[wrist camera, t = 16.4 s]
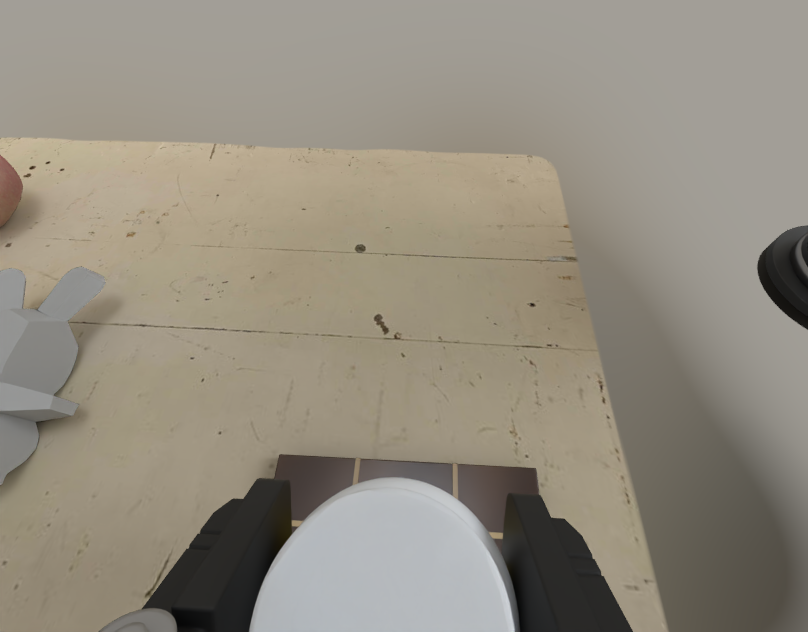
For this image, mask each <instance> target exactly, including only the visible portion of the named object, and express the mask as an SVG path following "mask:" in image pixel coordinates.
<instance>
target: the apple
mask: <svg viewBox="0 0 808 632" xmlns="http://www.w3.org/2000/svg"><path fill="white" fill-rule="evenodd" d="M22 190H23V185H22V181H21V179H20V177H19V175H18V174H17V172H16V171H15V170H14V168H13V167H12V166H11V165H10V164H9V163H8V162H7V161H6V160H5V159H4V158H3V157H2V156H1V155H0V227H1V226H3V225H4V224H5V223H6V222H7V221H8V219H9V218H10V216H11V215H12V214H13V212H14V211H15V209H16V207H17V205H18V203H19V201H20V199H21V195H22Z"/></svg>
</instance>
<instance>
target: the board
mask: <svg viewBox="0 0 808 632" xmlns="http://www.w3.org/2000/svg"><path fill="white" fill-rule="evenodd" d="M389 477H398V478H408V479H413V480H418V481H422V482H425V483H428V484H431V485H433V486H435V487H437V488H440V489H441V490H443V491H445V492H447V493H449V494H450V495H452V496H453V497H454V498H456V499H457V500H458V501H460V502H461V503H462V504H464V505H465V506H466V507H467V508H468V509H469V510H470V511H471V512H472V513H473V514H474V515H475V516H476V517H477V518H478V519H479V521H480V522H481V523H482V524H483V526H484V527H485V528H486V529H487V531H488V532H489V534H490V535H491V537H492V538H493V540H494V542H495V543H496V545H497V547H498V549H499V551H500V553H501V555H502V539H503V529H504V519H505V508H506V499H507V495H508V493H518V494H536V495H539V488H538V480H537V472H536V468H522V467H504V466H485V465H467V464H457V463H452V464H448V463H430V462H411V461H393V460H375V459H361V458H338V457H319V456H301V455H282V454H280V455H279V459H278V464H277V468H276V473H275V477H274V479H283V480H289V481H290V485H291V514H292V534H293V533H294V532H295V530H296V529H297V528H298V527H299V526H300V525H301V523H302V522H303V521H304V520H305V519H306V518H307V517H308V516H309V515H310V514H311V513H312V512H313V511H314V510H315V509H316V508H318V507H319V506H320V505H321V504H323V503H324V502H325V501H327V500H328V499H329V498H331V497H332V496H334V495H336V494H337V493H339V492H340V491H342V490H344V489H346V488H348V487H350V486H352V485H355V484H358V483H361V482H364V481H368V480H373V479H378V478H389Z"/></svg>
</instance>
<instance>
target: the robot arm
mask: <svg viewBox="0 0 808 632" xmlns="http://www.w3.org/2000/svg"><path fill="white" fill-rule="evenodd" d="M790 259H791V264H792V267H793V269H794V271H795V273H796V275H797V276H798V278H799V279H800V280H801V282H802V283H803V284H804V285H805V286H806V287H807V288H808V232H807V233H806V234H805V236H804V237H801V239H800V240H799V241H798V242H796V244H795V245H794V246H793V247H792V250H791V254H790ZM291 535H292V514H291V485H290V481H289V480H283V479H265V478H259V479H257V480H256V481H255V483H254V484H253V486H252V487H251V489H250V490H249V492H248V493H247V495H246V496H245V497H244V499H232V500H230V501H229V502H228V503H226V504H225V505H224V506H222V507H221V508H219V509H218V510H217V511H215V512H214V513H213V514H212V516H211V517H210V518H209V520H208V521H207V522H206V524H205V525H204V526H203V528H202V529H201V532H200V534H197V536H196V537H195V538H194V540H193V541H192V542H191V544H190V546H189V549H186V550H185V552H184V553H183V555H182V556H181V557H180V559H179V560H178V561H177V563H176V564H175V565H174V567H173V568H172V569H171V571H170V572H169V573H168V575H167V576H166V577H165V579H164V580H163V581H162V583H161V584H160V585H159V587H158V588H157V589H156V591H155V592H154V593H153V595H152V596H151V597H150V599H149V600H148V601H147V603H146V604H145V605H144V607H143V608H142V609H141V610H137V611H134V612H131V613H128V614H126V615H124V616H121V617H120V618H118V619H116V620H114V621H112V622H111V623H109V624H108V625H106V626H105V627H104V628H102V629H101V630H100V631H99V632H249V629H250V624H251V619H252V615H253V611H254V607H255V603H256V600H257V597H258V594H259V591H260V588H261V586H262V583H263V581H264V578H265V576H266V574H267V573H268V571H269V569H270V566H271V564H272V562H273V561H274V559H275V557H276V556H277V554H278V553H279V551H280V550H281V548H282V547H283V546H284V544H285V543H286V541H287V540H288V539H289V538H290V536H291ZM502 557H503V559H504V561H505V563H506V566H507V569H508V572H509V574H510V577H511V581H512V584H513V588H514V592H515V596H516V600H517V606H518V613H519V622H520V632H633V631H632V629H631V627H630V625H629V623H628V622H627V620H626V618H625V616H624V614H623V612H622V610H621V608H620V607H619V605H618V603H617V601H616V599H615V597H614V595H613V593H612V592H611V590H610V588H609V586H608V584H607V582H606V580H605V578H604V576H602V575H601V571H600V569H599V567H598V565H597V563H596V561H595V560H594V559H593V558H592V554H591V552H590V550H589V548H588V546H587V545H586V543H585V541H584V539H583V537H582V535H581V534H580V533H578V532H577V531H576V530H575V529H574V528H573V527H572V526H571V525H570V524H569V523H568V522H567V521H566V520H565V519H559V518H551V517H550V514H549V512H548V510H547V508H546V506H545V503H544V501H543V499H542V497H541V496H540V495H536V494H518V493H508V495H507V499H506V508H505V519H504V529H503V539H502Z"/></svg>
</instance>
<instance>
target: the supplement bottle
mask: <svg viewBox="0 0 808 632" xmlns="http://www.w3.org/2000/svg"><path fill="white" fill-rule="evenodd" d="M249 632H520V622H519V613H518V606H517V600H516V596H515V592H514V588H513V584H512V581H511V577H510V574H509V572H508V569H507V566H506V563H505V561H504V559H503V557H502V555H501V553H500V551H499V549H498V547H497V545H496V543H495V542H494V540H493V538H492V537H491V535H490V534H489V532H488V531H487V529H486V528H485V527H484V526H483V524H482V523H481V522H480V521H479V519H478V518H477V517H476V516H475V515H474V514H473V513H472V512H471V511H470V510H469V509H468V508H467V507H466V506H465V505H464V504H462V503H461V502H460V501H458V500H457V499H456V498H454V497H453V496H452V495H450V494H449V493H447V492H445V491H443V490H441V489H440V488H437V487H435V486H433V485H431V484H428V483H425V482H422V481H418V480H413V479H408V478H398V477H389V478H378V479H373V480H368V481H364V482H361V483H358V484H355V485H352V486H350V487H348V488H346V489H344V490H342V491H340V492H339V493H337V494H336V495H334V496H332V497H331V498H329V499H328V500H327V501H325V502H324V503H323V504H321V505H320V506H319V507H318V508H316V509H315V510H314V511H313V512H312V513H311V514H310V515H309V516H308V517H307V518H306V519H305V520H304V521H303V522H302V523H301V525H300V526H299V527H298V528H297V529H296V530H295V532H294V533H293V534H292V535H291V536H290V538H289V539H288V540H287V541H286V543H285V544H284V546H283V547H282V548H281V550H280V551H279V553H278V554H277V556H276V557H275V559H274V561H273V562H272V564H271V566H270V569H269V571H268V573H267V574H266V576H265V578H264V581H263V583H262V586H261V588H260V591H259V594H258V597H257V600H256V603H255V607H254V611H253V615H252V619H251V624H250V629H249Z"/></svg>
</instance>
